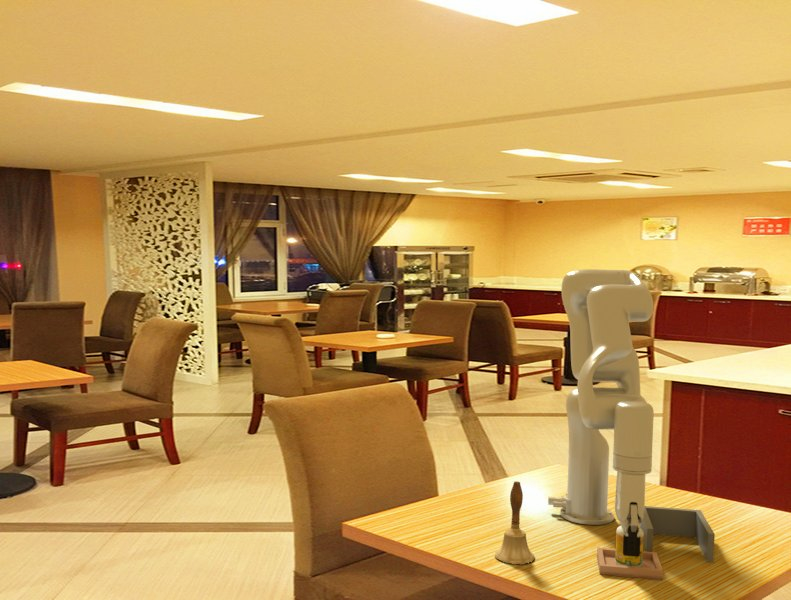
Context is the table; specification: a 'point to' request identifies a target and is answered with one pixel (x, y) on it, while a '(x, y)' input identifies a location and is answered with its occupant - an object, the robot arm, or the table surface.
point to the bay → (678, 527)
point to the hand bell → (515, 534)
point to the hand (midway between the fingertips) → (629, 547)
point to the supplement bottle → (620, 557)
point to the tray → (647, 570)
